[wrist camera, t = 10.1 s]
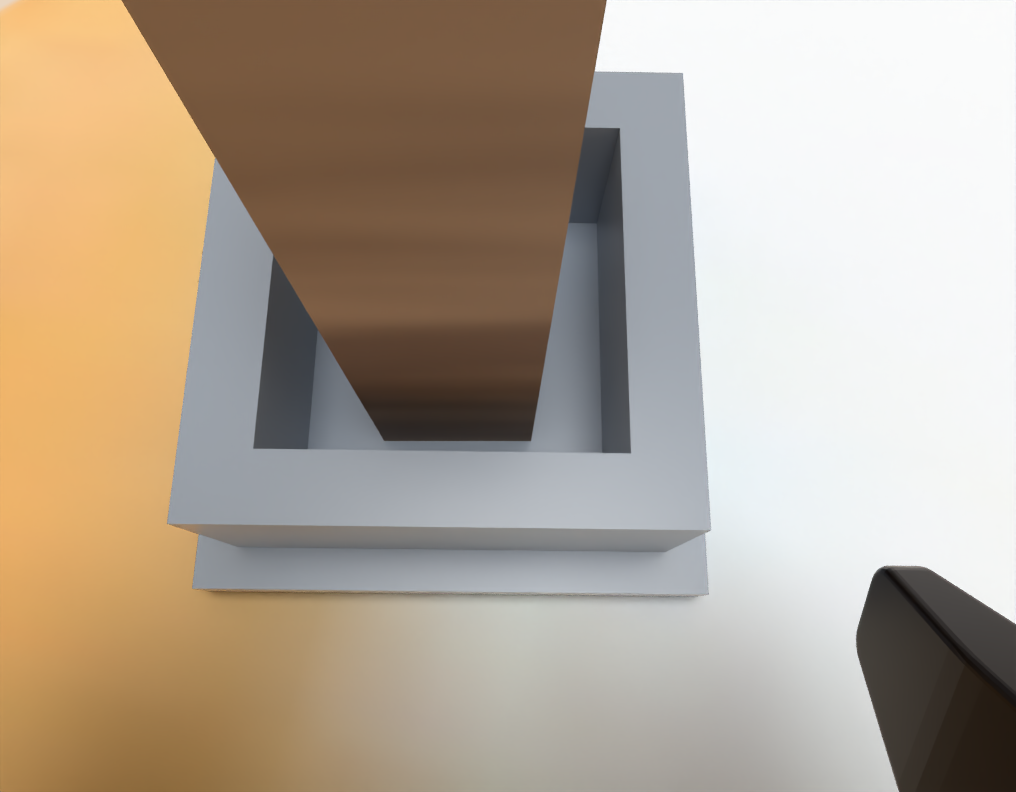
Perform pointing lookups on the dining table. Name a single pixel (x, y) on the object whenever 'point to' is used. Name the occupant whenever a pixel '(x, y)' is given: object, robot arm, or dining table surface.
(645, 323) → the end cap
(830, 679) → the dining table surface
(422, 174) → the brown wooden block
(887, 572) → the robot arm
